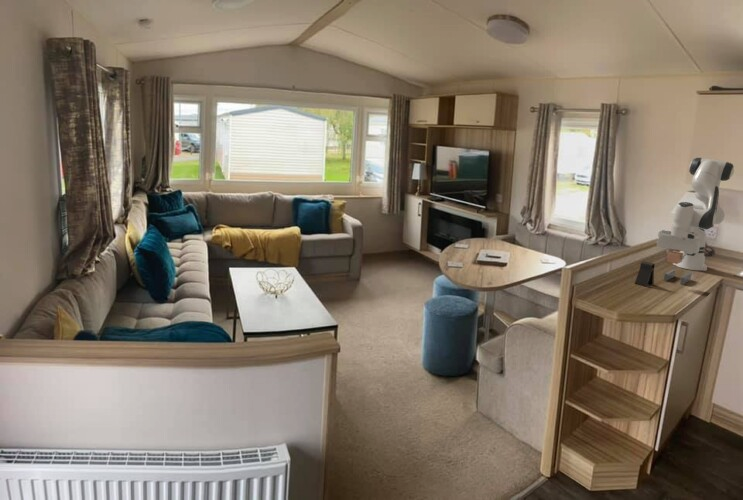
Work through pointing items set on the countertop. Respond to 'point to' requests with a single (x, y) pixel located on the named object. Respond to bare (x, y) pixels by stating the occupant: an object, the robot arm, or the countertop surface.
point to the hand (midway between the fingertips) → (675, 258)
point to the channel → (683, 279)
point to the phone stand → (645, 274)
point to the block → (674, 257)
